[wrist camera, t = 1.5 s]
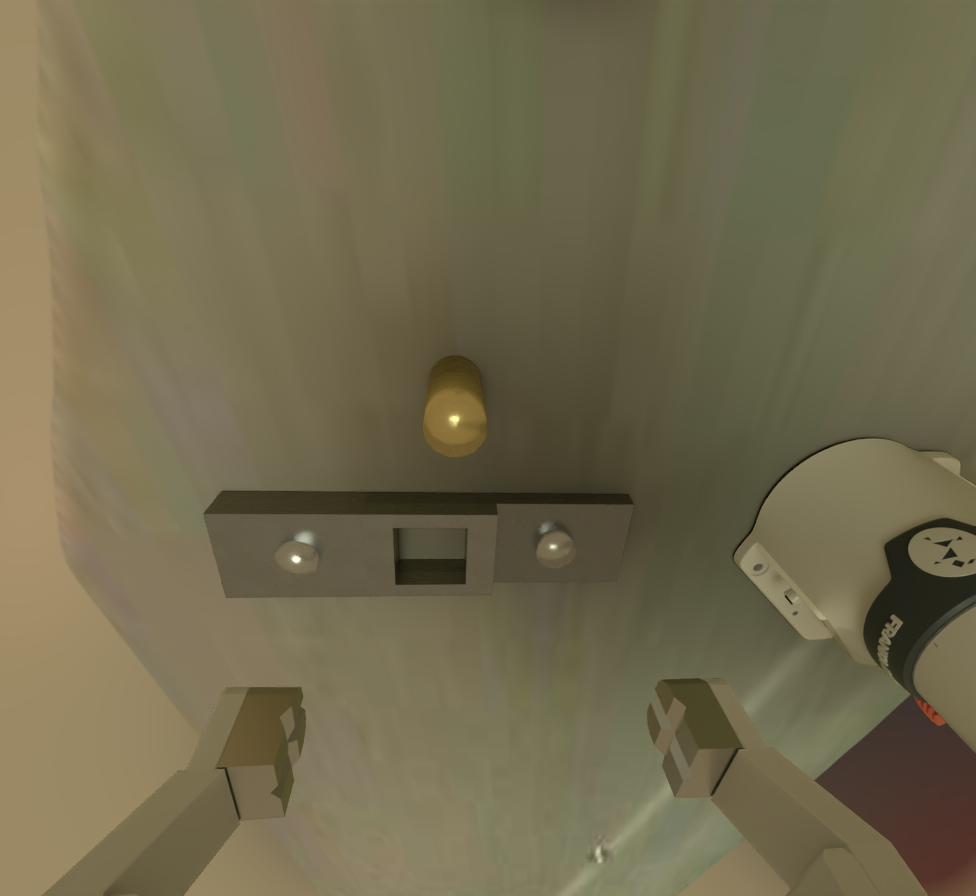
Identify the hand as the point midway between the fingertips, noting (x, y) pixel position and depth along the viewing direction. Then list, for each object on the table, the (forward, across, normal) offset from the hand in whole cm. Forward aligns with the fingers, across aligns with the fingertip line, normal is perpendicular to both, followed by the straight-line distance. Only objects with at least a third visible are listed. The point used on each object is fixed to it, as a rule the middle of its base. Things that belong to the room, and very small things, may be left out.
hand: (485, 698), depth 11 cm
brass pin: (+25, 0, +1) cm, 25 cm away
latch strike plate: (+25, +1, +15) cm, 29 cm away
